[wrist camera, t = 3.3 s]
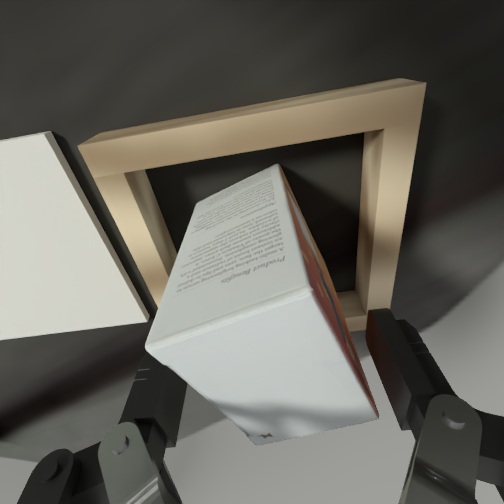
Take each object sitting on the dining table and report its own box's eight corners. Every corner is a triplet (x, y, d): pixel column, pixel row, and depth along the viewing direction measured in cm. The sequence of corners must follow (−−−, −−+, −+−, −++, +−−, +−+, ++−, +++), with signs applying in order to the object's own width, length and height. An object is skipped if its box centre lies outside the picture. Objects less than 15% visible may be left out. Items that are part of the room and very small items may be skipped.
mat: (-184, 174, 16) (-198, 178, 15) (50, 131, 15) (43, 133, 14) (-12, 336, 24) (-17, 342, 23) (149, 315, 23) (147, 321, 22)
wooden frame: (100, 132, 15) (77, 146, 13) (399, 77, 14) (426, 82, 12) (185, 324, 23) (179, 351, 21) (374, 301, 22) (386, 327, 20)
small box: (325, 261, 20) (384, 422, 11) (253, 289, 21) (256, 451, 13) (279, 158, 16) (317, 288, 7) (193, 200, 17) (138, 352, 9)
